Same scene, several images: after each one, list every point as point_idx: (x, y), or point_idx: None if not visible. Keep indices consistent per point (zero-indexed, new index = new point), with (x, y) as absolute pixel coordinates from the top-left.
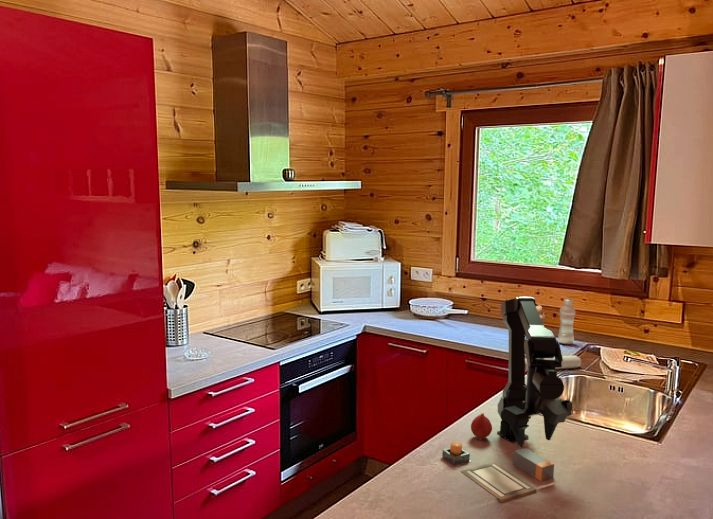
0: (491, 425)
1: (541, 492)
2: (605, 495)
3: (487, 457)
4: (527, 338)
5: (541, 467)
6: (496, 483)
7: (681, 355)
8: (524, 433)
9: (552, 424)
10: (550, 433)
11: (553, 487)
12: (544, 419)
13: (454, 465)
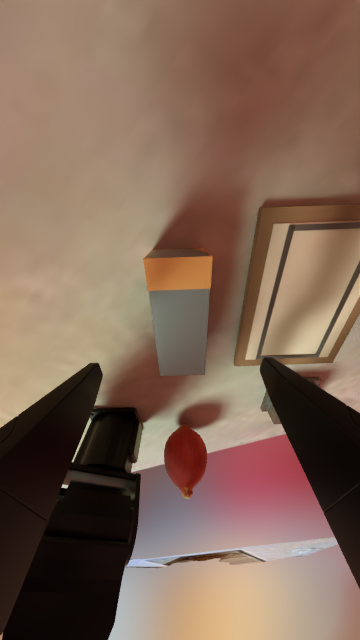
0: (169, 456)
1: (248, 195)
2: (9, 9)
3: (223, 384)
4: None
5: (211, 259)
6: (328, 289)
7: None
8: (347, 429)
9: (17, 459)
10: (74, 391)
11: (187, 205)
12: (51, 503)
13: (316, 381)
